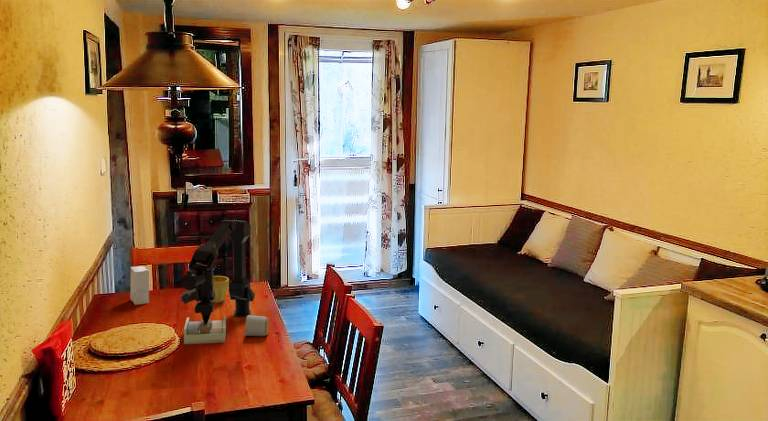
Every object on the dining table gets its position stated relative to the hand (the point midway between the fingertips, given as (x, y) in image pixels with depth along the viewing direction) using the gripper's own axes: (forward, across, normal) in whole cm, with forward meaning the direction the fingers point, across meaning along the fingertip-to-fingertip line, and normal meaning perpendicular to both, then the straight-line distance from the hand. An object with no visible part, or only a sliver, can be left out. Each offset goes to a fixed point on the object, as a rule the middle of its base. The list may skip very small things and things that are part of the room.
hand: (205, 323), depth 221 cm
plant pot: (+5, -42, +2) cm, 43 cm away
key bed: (+5, 0, 0) cm, 5 cm away
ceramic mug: (+6, 0, +19) cm, 19 cm away
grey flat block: (+3, 0, -4) cm, 5 cm away
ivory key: (+3, 0, +4) cm, 5 cm away
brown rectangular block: (+2, 0, 0) cm, 2 cm away
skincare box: (+5, -44, -30) cm, 54 cm away
